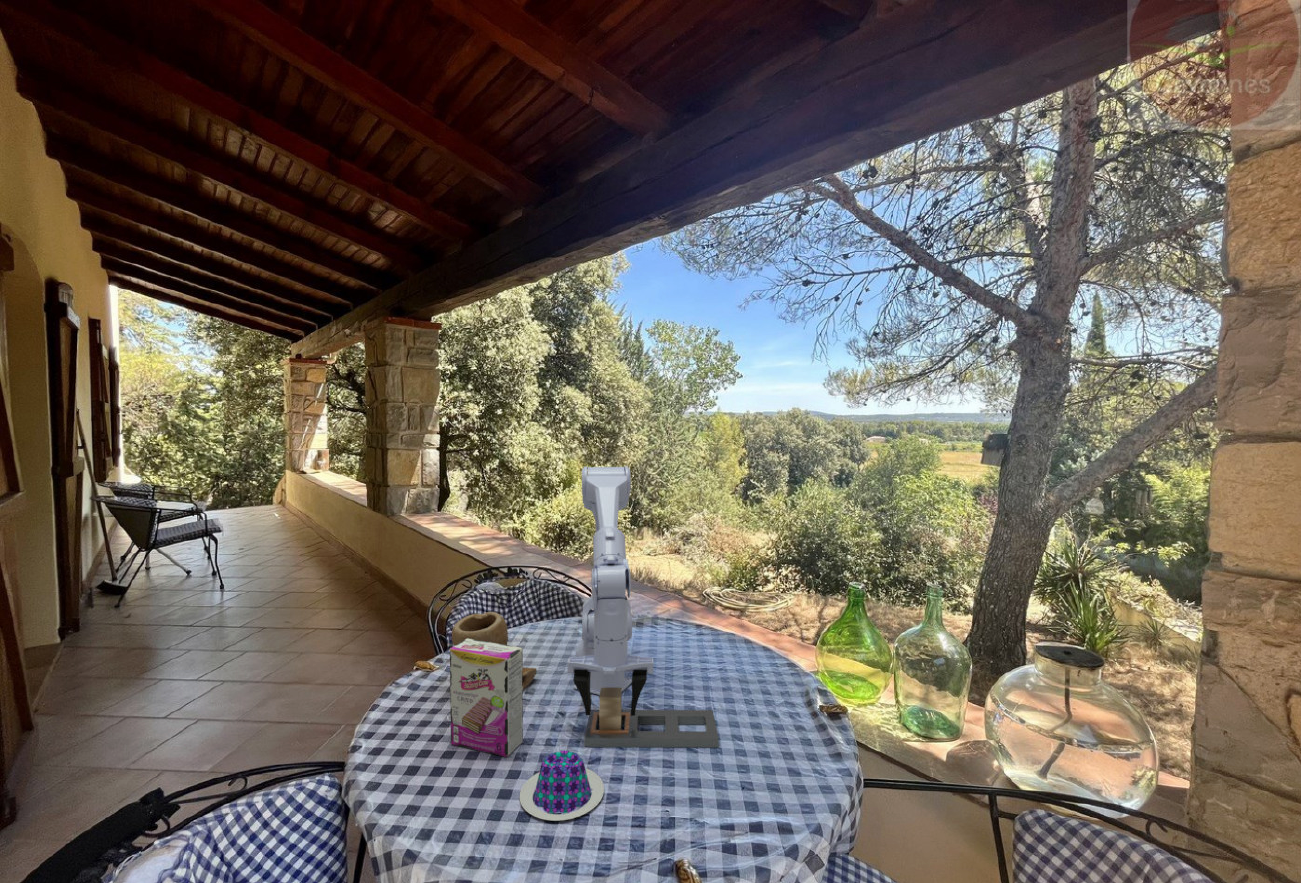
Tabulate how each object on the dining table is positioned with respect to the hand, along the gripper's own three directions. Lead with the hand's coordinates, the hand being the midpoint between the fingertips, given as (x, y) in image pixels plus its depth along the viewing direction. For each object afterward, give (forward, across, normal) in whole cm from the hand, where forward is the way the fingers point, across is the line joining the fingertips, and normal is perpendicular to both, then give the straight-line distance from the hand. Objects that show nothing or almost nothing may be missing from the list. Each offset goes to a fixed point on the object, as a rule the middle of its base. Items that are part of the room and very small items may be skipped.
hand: (610, 712), depth 99 cm
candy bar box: (+4, -20, -4) cm, 21 cm away
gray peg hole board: (+3, +7, 0) cm, 8 cm away
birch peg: (+3, 0, 0) cm, 4 cm away
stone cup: (+4, -25, +15) cm, 29 cm away
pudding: (+4, -6, -16) cm, 18 cm away
